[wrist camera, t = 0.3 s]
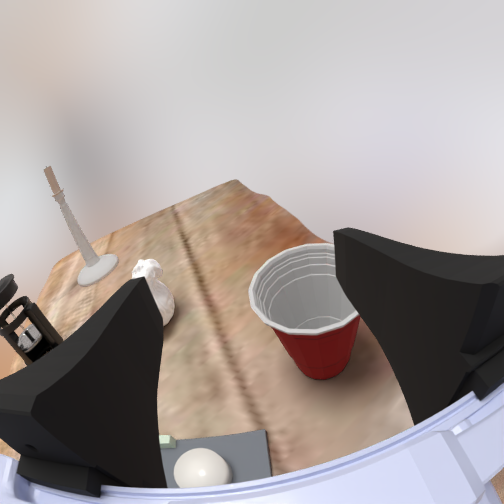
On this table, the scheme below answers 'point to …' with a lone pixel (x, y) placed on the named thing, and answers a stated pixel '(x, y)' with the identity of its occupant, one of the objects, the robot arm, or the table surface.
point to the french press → (35, 335)
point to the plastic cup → (307, 308)
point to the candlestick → (82, 241)
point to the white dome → (202, 469)
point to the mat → (226, 455)
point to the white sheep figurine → (156, 287)
